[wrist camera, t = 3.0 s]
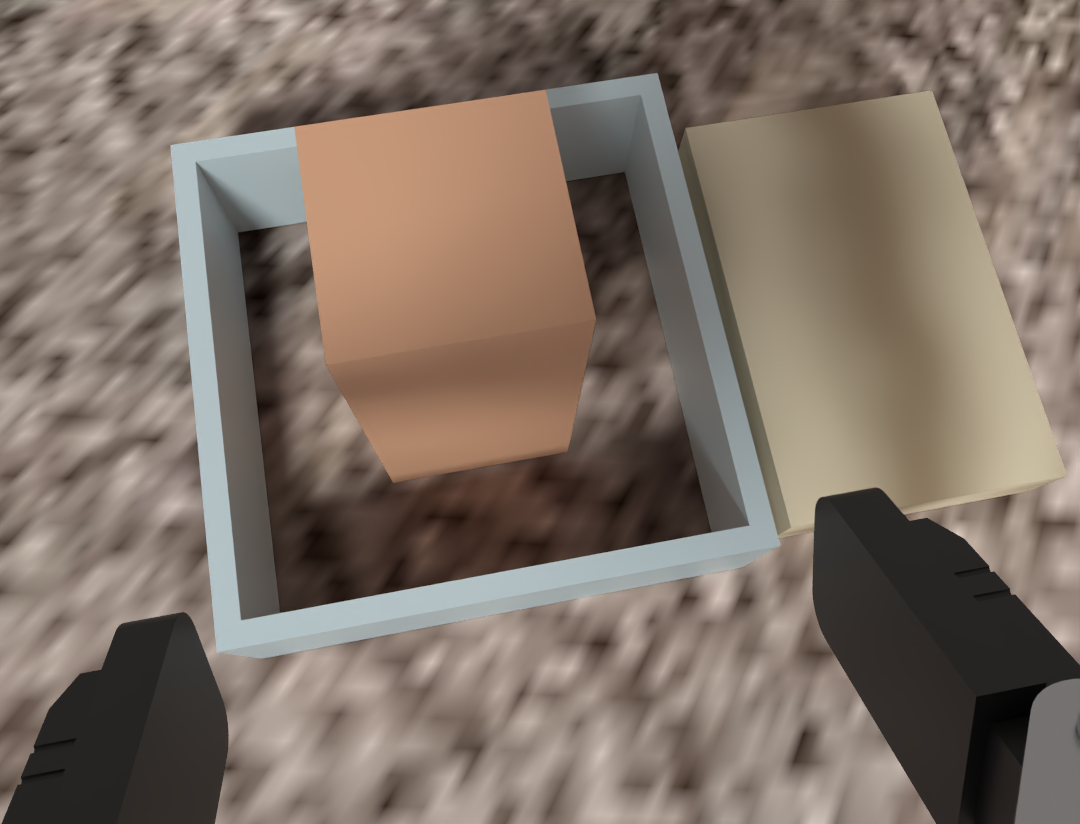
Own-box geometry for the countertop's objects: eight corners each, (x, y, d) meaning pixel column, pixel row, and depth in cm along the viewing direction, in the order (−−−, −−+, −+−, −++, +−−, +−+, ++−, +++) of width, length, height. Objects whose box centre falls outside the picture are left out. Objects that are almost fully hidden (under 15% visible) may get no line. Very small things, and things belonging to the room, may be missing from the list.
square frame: (261, 658, 25) (216, 651, 22) (216, 217, 29) (170, 145, 25) (741, 567, 26) (780, 545, 23) (639, 152, 30) (657, 73, 26)
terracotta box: (393, 483, 27) (325, 364, 17) (369, 320, 28) (294, 126, 19) (567, 451, 27) (596, 320, 18) (535, 292, 29) (545, 89, 19)
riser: (771, 539, 27) (791, 527, 25) (674, 164, 30) (685, 128, 28) (1028, 490, 27) (1067, 475, 25) (905, 128, 30) (931, 90, 29)
